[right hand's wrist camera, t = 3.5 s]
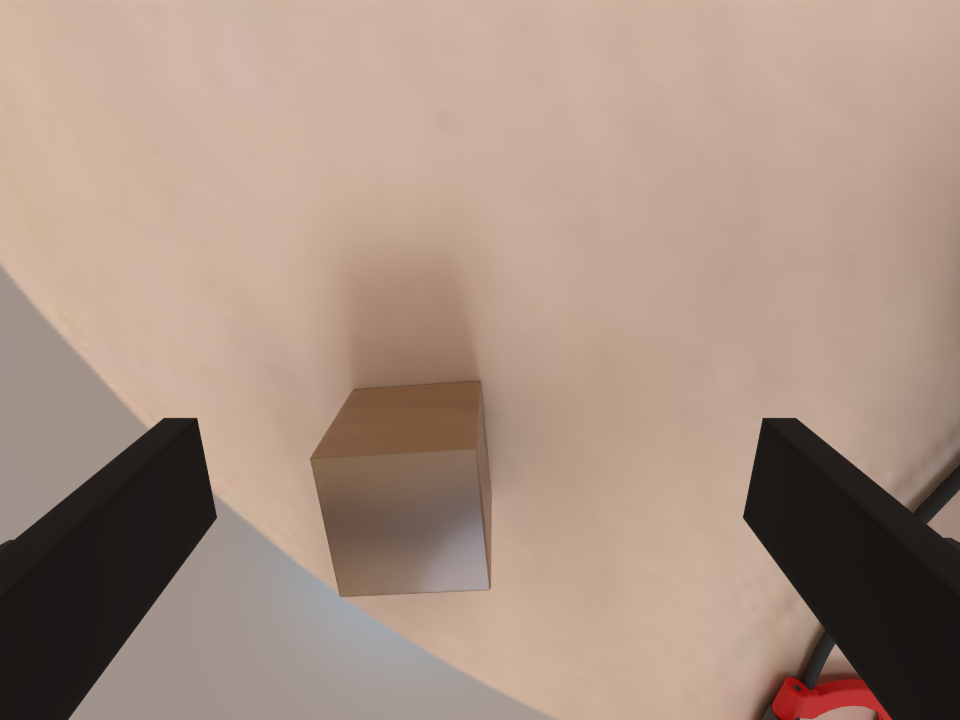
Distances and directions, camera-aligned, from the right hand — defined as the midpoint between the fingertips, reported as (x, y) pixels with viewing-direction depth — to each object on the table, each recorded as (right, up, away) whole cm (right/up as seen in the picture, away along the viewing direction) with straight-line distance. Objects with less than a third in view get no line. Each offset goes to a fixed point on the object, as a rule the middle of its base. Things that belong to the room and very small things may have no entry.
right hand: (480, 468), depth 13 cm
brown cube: (-3, -2, +17) cm, 17 cm away
